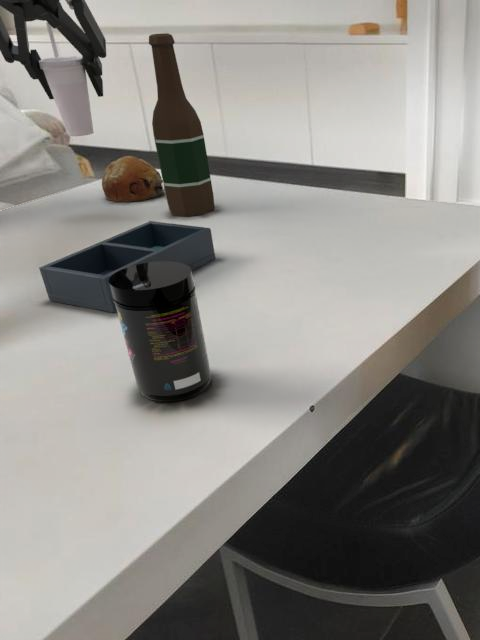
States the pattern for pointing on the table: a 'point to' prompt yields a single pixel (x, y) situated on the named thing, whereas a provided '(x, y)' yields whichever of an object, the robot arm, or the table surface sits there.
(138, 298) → the supplement container
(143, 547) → the table surface
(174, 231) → the compartment tray
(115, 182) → the bread roll
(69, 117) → the smoothie
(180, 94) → the beer bottle
